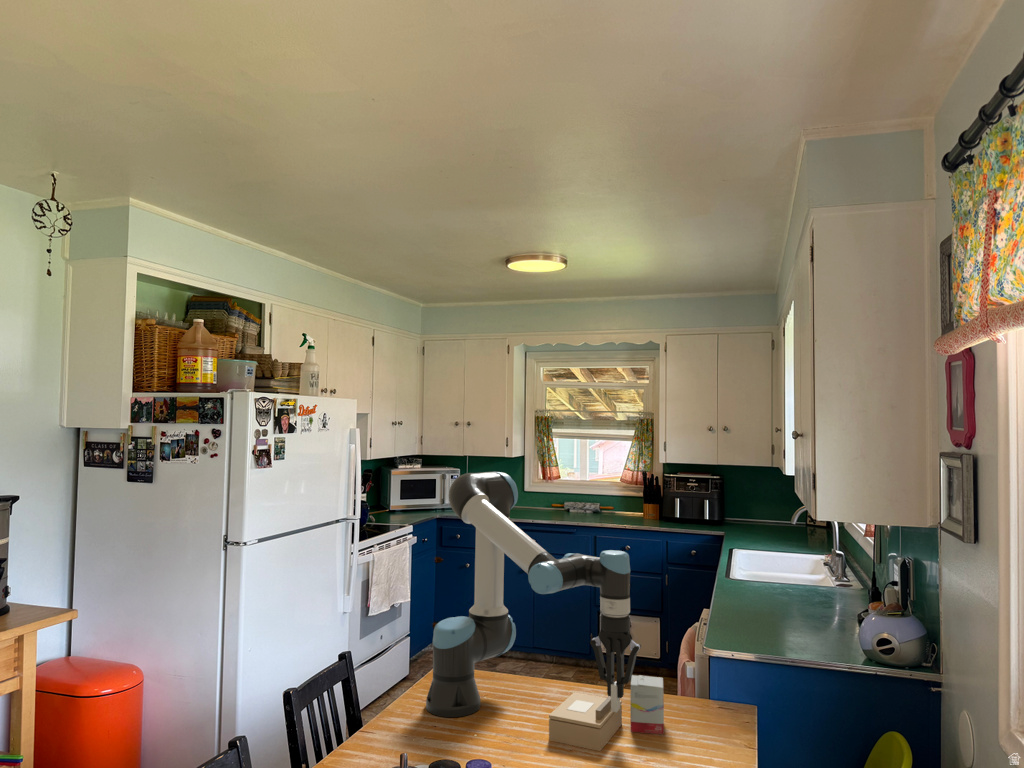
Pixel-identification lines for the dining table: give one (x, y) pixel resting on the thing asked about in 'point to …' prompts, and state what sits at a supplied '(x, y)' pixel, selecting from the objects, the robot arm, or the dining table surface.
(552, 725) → the box
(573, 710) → the lid
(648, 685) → the ink box
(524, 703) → the dining table surface
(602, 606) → the robot arm
